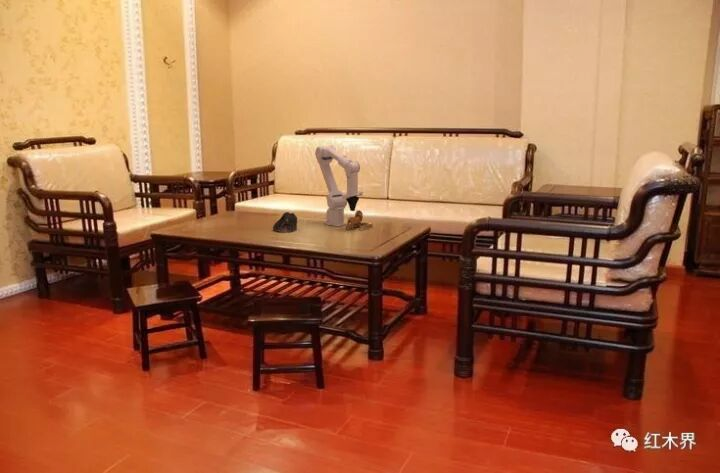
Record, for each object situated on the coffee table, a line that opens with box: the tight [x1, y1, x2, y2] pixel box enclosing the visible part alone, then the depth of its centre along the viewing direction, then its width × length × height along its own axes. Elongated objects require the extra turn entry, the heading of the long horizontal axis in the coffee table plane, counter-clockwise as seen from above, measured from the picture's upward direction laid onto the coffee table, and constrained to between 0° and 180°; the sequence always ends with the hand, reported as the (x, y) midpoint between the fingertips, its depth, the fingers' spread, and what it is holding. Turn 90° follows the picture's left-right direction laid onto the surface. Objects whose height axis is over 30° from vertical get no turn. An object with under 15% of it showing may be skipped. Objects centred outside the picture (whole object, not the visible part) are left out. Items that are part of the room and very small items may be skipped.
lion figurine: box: [345, 210, 364, 231], centre depth 309 cm, size 15×5×9 cm, turn 153°
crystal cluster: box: [272, 211, 298, 233], centre depth 307 cm, size 13×14×10 cm
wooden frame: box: [348, 221, 373, 232], centre depth 311 cm, size 9×10×2 cm
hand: (352, 210), depth 307 cm, fingers closed
